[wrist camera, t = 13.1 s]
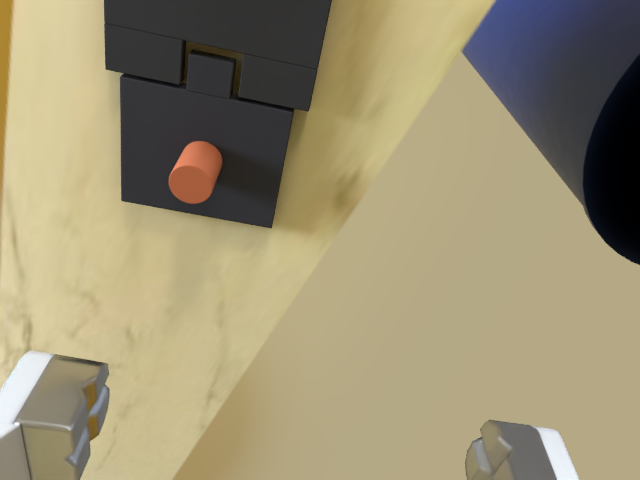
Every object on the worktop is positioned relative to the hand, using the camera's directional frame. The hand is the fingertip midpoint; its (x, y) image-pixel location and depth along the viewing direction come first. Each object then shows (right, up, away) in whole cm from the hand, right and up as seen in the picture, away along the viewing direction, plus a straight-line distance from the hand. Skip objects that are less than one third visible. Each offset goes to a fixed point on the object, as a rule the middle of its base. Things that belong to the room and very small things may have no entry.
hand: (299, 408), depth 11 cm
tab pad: (-8, +11, +28) cm, 31 cm away
